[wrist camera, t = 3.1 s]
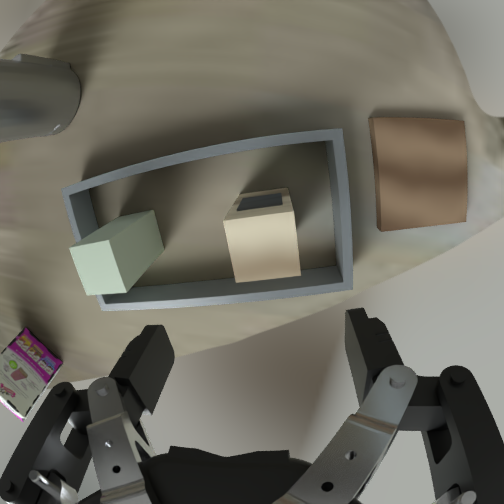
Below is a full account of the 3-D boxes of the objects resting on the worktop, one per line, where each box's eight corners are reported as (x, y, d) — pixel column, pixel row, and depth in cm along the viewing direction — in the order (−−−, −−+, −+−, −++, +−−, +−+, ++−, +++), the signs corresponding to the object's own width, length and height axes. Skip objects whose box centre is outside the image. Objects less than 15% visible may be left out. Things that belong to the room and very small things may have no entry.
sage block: (118, 216, 31) (69, 247, 22) (153, 209, 31) (108, 240, 21) (129, 255, 33) (87, 295, 24) (164, 250, 32) (126, 292, 23)
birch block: (239, 192, 29) (222, 218, 20) (287, 186, 29) (293, 209, 19) (247, 238, 31) (236, 282, 22) (293, 233, 30) (300, 275, 21)
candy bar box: (23, 336, 43) (-19, 383, 28) (25, 325, 42) (-20, 374, 27) (59, 371, 46) (23, 423, 31) (64, 362, 44) (24, 418, 29)
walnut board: (368, 118, 25) (372, 117, 24) (456, 121, 23) (463, 121, 22) (376, 227, 29) (381, 231, 28) (459, 218, 28) (466, 221, 26)
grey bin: (80, 182, 30) (61, 189, 26) (333, 129, 26) (342, 128, 22) (115, 295, 36) (102, 310, 32) (344, 272, 32) (352, 289, 28)
